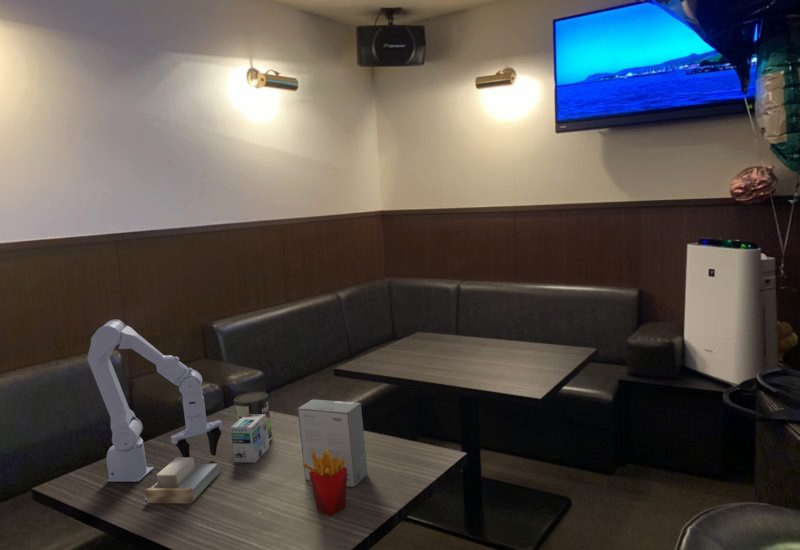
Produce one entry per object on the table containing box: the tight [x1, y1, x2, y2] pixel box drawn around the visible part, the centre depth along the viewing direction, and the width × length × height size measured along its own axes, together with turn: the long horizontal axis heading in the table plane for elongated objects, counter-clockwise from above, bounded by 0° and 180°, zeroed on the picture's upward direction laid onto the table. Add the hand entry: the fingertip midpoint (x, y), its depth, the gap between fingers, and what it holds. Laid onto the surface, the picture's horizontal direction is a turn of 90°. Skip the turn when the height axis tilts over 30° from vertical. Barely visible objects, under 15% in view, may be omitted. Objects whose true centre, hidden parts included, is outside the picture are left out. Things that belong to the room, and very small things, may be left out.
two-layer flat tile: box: [178, 463, 220, 501], centre depth 158 cm, size 5×15×3 cm, turn 172°
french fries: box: [301, 449, 348, 517], centre depth 140 cm, size 9×8×15 cm
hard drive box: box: [297, 399, 368, 488], centre depth 157 cm, size 16×8×20 cm, turn 65°
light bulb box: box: [230, 414, 270, 464], centre depth 175 cm, size 11×7×11 cm, turn 169°
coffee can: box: [233, 391, 273, 442], centre depth 186 cm, size 10×10×14 cm
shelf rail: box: [145, 487, 195, 504], centre depth 151 cm, size 12×1×4 cm, turn 82°
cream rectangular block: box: [156, 456, 196, 488], centre depth 159 cm, size 5×10×6 cm, turn 171°
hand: (200, 459), depth 172 cm, fingers open, 7 cm apart
